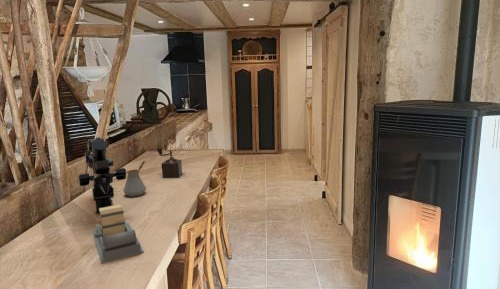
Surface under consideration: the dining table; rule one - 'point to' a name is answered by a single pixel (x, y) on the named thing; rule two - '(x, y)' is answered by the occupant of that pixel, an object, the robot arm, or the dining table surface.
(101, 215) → the crate
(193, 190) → the dining table surface
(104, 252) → the bay
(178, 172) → the manual coffee grinder
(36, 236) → the dining table surface
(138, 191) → the coffee pot
